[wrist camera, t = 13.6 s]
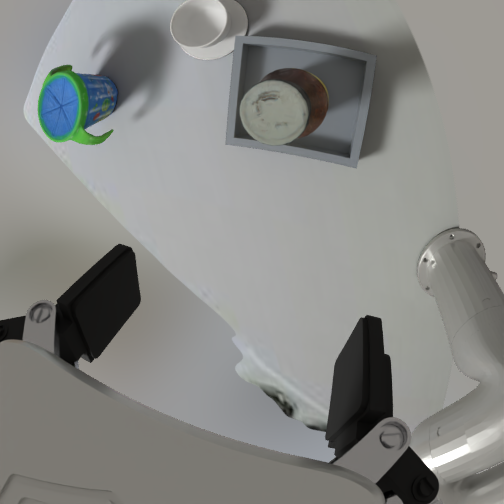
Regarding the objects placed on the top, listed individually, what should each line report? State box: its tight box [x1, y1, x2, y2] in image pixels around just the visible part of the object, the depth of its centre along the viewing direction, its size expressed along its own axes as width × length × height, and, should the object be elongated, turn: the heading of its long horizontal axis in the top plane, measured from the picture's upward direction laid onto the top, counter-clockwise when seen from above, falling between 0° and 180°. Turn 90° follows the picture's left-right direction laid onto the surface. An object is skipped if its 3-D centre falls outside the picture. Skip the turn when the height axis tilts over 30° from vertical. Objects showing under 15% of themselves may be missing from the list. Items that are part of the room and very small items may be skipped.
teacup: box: [170, 0, 248, 60], centre depth 27 cm, size 10×10×5 cm
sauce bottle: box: [240, 68, 329, 146], centre depth 22 cm, size 6×6×20 cm
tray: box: [226, 36, 377, 168], centre depth 30 cm, size 16×14×4 cm
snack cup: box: [38, 65, 118, 145], centre depth 32 cm, size 16×10×10 cm
